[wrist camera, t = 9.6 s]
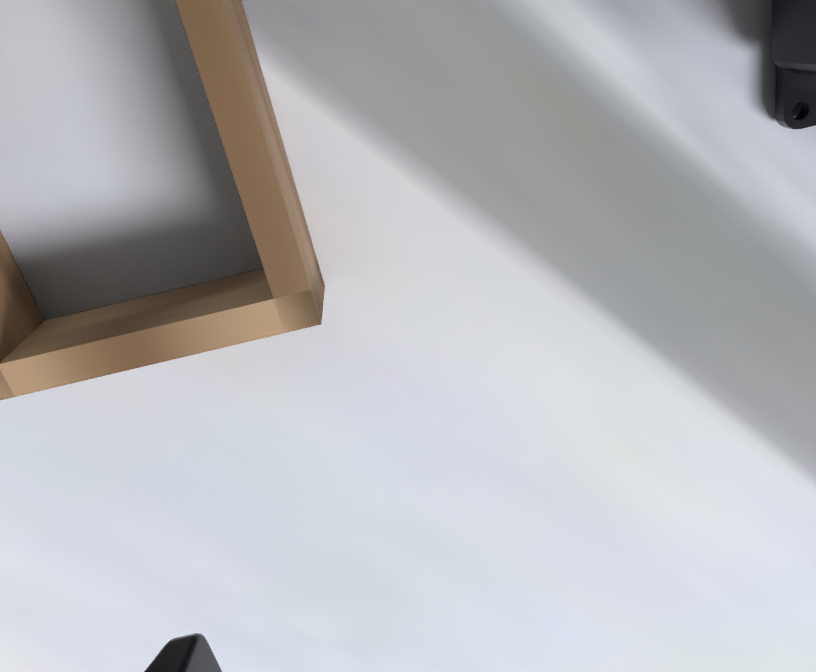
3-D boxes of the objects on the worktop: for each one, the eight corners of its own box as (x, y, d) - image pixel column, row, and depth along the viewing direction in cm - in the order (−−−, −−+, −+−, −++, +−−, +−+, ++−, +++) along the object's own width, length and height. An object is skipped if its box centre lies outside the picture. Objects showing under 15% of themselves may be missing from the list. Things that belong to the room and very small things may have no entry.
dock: (147, -322, 15) (100, -405, 12) (324, 286, 21) (321, 324, 18) (-269, -216, 15) (-410, -273, 12) (27, 356, 21) (-21, 405, 18)
